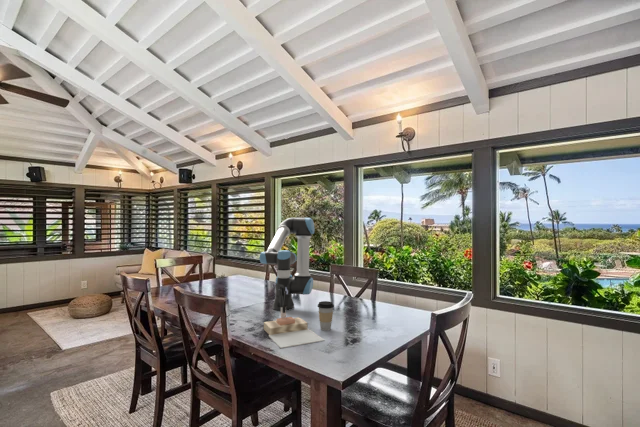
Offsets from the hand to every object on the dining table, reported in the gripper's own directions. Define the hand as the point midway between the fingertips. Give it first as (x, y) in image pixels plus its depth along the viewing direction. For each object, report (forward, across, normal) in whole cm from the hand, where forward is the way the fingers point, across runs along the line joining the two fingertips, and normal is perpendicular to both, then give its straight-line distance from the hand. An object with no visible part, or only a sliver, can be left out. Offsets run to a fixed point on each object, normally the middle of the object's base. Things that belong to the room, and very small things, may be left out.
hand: (283, 317), depth 188 cm
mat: (+6, +19, 0) cm, 20 cm away
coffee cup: (+6, +12, +21) cm, 25 cm away
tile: (+2, +4, 0) cm, 4 cm away
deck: (+6, +3, 0) cm, 7 cm away
